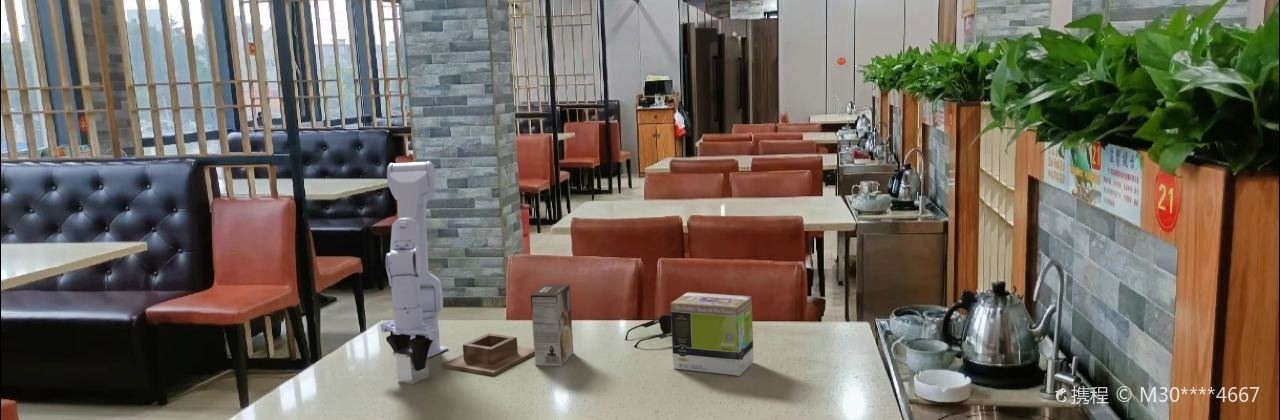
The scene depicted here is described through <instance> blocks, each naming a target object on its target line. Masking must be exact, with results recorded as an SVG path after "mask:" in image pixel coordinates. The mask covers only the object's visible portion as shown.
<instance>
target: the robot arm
mask: <svg viewBox="0 0 1280 420" xmlns="http://www.w3.org/2000/svg"><path fill="white" fill-rule="evenodd" d="M386 178H387V179H386V180H387V186H388V188H389V190H390V192H391V195H392V196H393V197H394V200H397V201H396V203H397V219H396V220H395V221H394V222H393V223H392V225H391V234H390V235H391V236H390V245H389V246H390V247H389V252H387V253H386V254H385V269H386V274H387V277H388V286H389V287H391V289H390V290H391V300H392V309H393V320H394V321H393V320H392V321H391V320H386V321H383V322H380V332H381V333H387V332H388V333H390V334H389V336H386V338H385V340H386V342H387V343H388V344H389V346H390V347H391V349H392V351H393V352H395V351H398V350H400V349H402V348H405V347H407V346H410V347H411V349H412V352H413V356H414V363H415V368H416V371H420V370H422V369H424V368H425V366H426V360H427V359H429V358H431V357H433V356H436V355H438V354H440V353H442V352H445V351H448V350H449V347H448V346H447V345H446V346H445V345H441V343H440V341H441V340H440V329H439V317H438V316H439V315H438V313H439V314H440V313H441V311H443V310H444V309H443V308H444V295H443V294H444V293H443V289H442V282H441V280H440V278H439V277H438V276H436V275H435V274H433V273H431V272H430V271H429V253H428V234H427V233H428V230H427V204H428V202H429V201H430V200H431V199H433V198H435V194H436V185H435V184H436V182H435V181H436V179H435V178H436V177H435V168H434V164H433V163H432V162H431V160H427V161H416V162H396V163H394V162H390V163H389V164H388V166H387V167H386ZM425 285H426V286H425ZM427 285H430V286H427Z"/></svg>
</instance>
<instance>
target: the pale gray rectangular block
mask: <svg viewBox="0 0 1280 420" xmlns="http://www.w3.org/2000/svg"><path fill="white" fill-rule="evenodd" d="M392 356H395V361H396V374H397V382H400V383H404V384H410V385H414V384H416V383H418V382H420V381H422V380H424V379H426V378H428V377H430V374H429V373H430V372H429V371H430V370H429V362H428V361H429V360H428V359H429V358H427V360H426V366H425V368H424V369H422V370H420V371H416V368H415V363H414V356H413V352H412V349H411V347H410V346H407V347H405V348H402V349H400V350H398V351H395V352H394V351H393V352H392Z"/></svg>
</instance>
